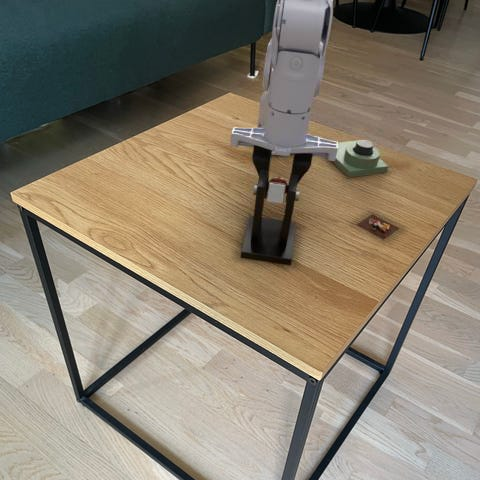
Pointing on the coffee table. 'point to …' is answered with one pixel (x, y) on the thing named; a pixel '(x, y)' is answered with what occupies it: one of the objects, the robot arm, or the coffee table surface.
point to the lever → (276, 190)
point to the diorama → (378, 226)
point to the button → (364, 147)
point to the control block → (358, 161)
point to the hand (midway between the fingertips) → (276, 196)
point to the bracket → (271, 227)
